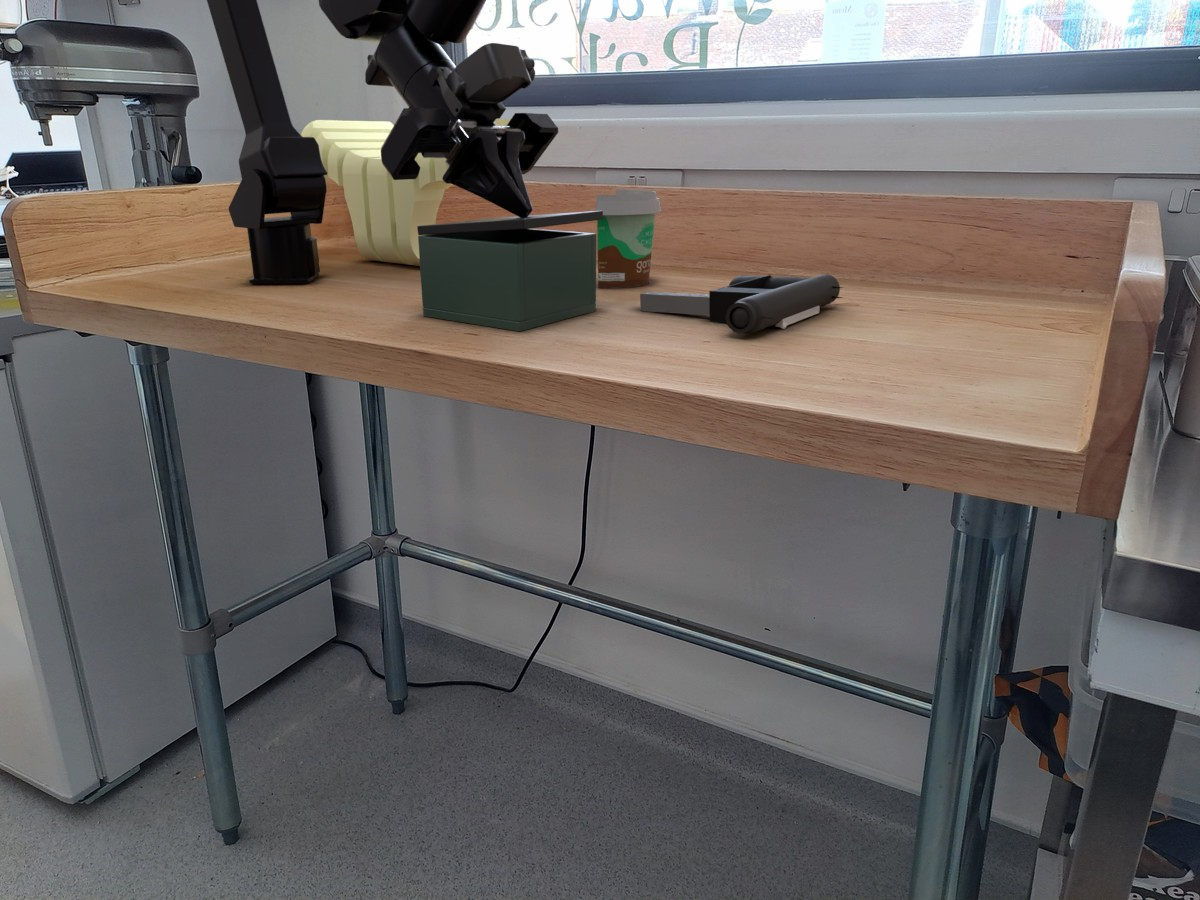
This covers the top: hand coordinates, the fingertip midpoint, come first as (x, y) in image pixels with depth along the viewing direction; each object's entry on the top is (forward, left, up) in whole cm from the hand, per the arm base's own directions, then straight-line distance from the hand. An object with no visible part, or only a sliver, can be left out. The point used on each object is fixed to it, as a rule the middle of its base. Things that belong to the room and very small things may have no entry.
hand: (527, 214), depth 77 cm
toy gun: (+19, 0, -9) cm, 22 cm away
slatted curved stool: (-13, +40, -9) cm, 43 cm away
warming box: (-2, +1, -9) cm, 9 cm away
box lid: (-1, +1, -1) cm, 2 cm away
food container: (+12, +19, -9) cm, 25 cm away
